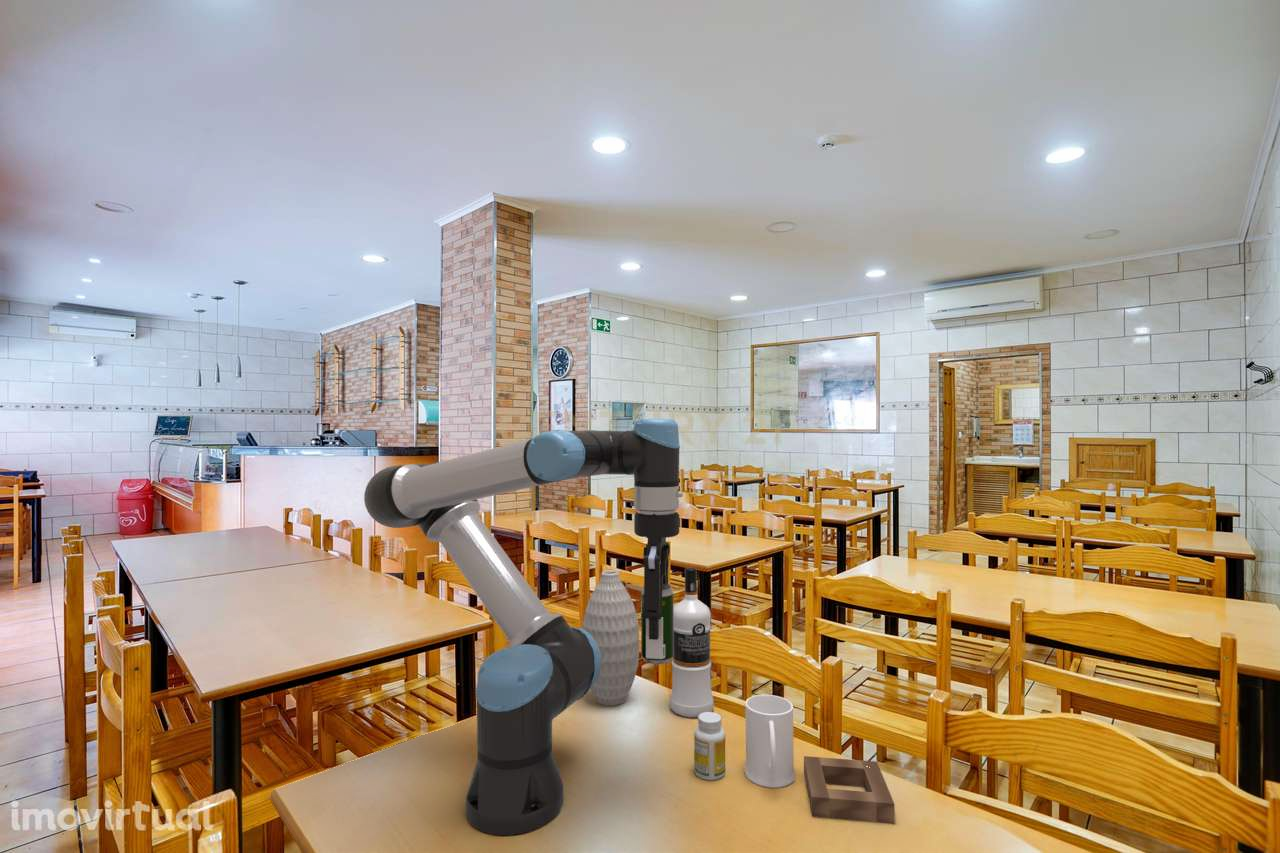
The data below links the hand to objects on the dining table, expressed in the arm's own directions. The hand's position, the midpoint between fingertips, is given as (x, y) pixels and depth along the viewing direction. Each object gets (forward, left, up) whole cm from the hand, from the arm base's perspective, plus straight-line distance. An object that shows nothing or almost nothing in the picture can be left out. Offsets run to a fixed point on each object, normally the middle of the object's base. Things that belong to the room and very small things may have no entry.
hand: (657, 650), depth 102 cm
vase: (-15, +32, -23) cm, 42 cm away
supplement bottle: (+8, +6, -23) cm, 25 cm away
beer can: (0, 0, -1) cm, 2 cm away
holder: (+30, +2, -23) cm, 38 cm away
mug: (+18, +5, -23) cm, 30 cm away
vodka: (+3, +30, -23) cm, 38 cm away
